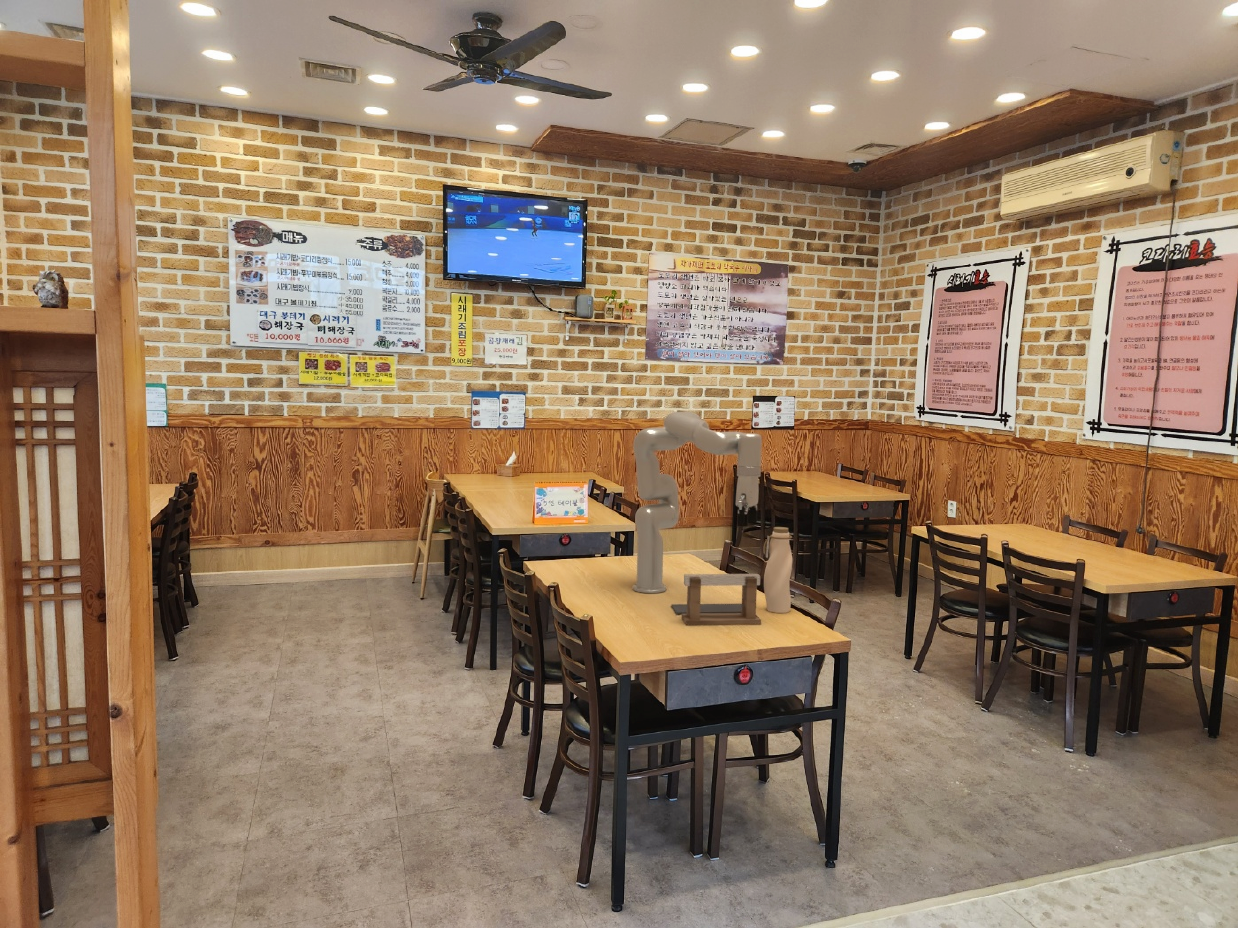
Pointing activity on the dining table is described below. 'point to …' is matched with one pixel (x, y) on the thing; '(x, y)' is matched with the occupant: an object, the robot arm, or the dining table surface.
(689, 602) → the walnut rack
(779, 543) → the water bottle
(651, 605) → the dining table surface
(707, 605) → the black mat
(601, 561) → the dining table surface
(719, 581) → the steel rail
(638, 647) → the dining table surface
